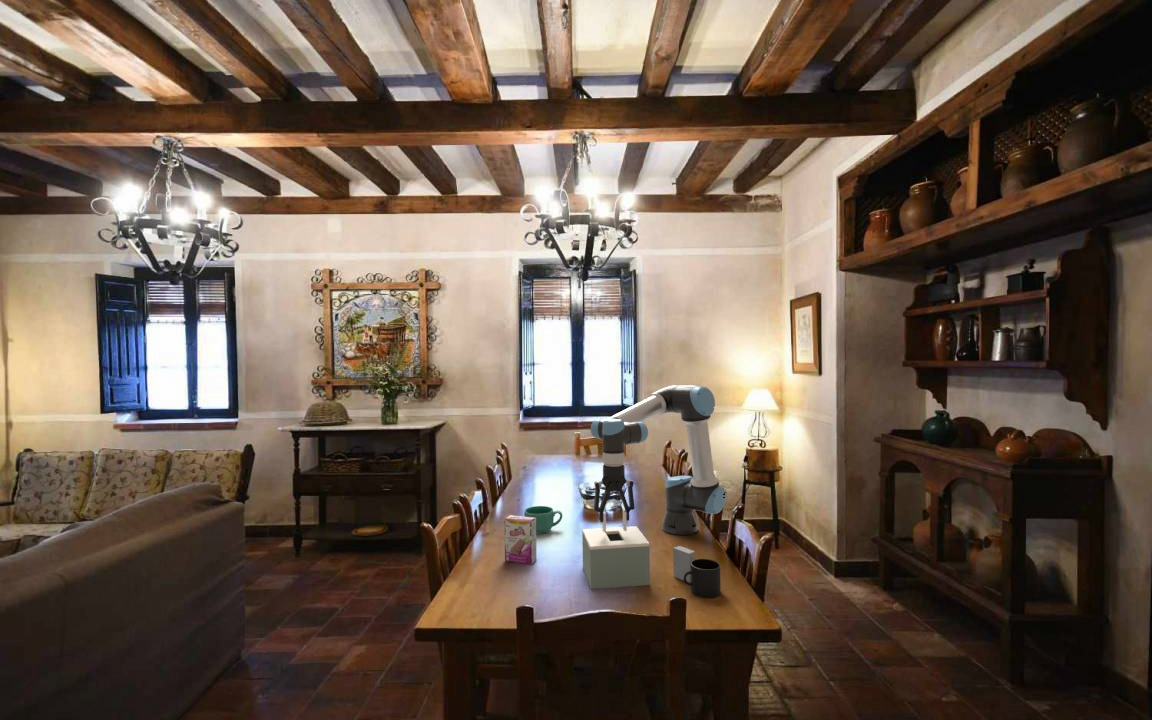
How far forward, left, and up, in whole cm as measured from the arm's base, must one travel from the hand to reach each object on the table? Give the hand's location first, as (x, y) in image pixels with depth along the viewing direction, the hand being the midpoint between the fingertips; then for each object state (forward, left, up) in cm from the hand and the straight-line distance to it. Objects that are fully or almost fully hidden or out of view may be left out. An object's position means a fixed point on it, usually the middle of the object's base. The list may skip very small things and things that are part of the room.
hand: (614, 530), depth 189 cm
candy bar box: (+32, -19, -16) cm, 41 cm away
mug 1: (+21, -52, -16) cm, 58 cm away
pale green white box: (0, 0, -16) cm, 16 cm away
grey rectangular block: (-23, +6, -16) cm, 29 cm away
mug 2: (-25, +17, -16) cm, 34 cm away
